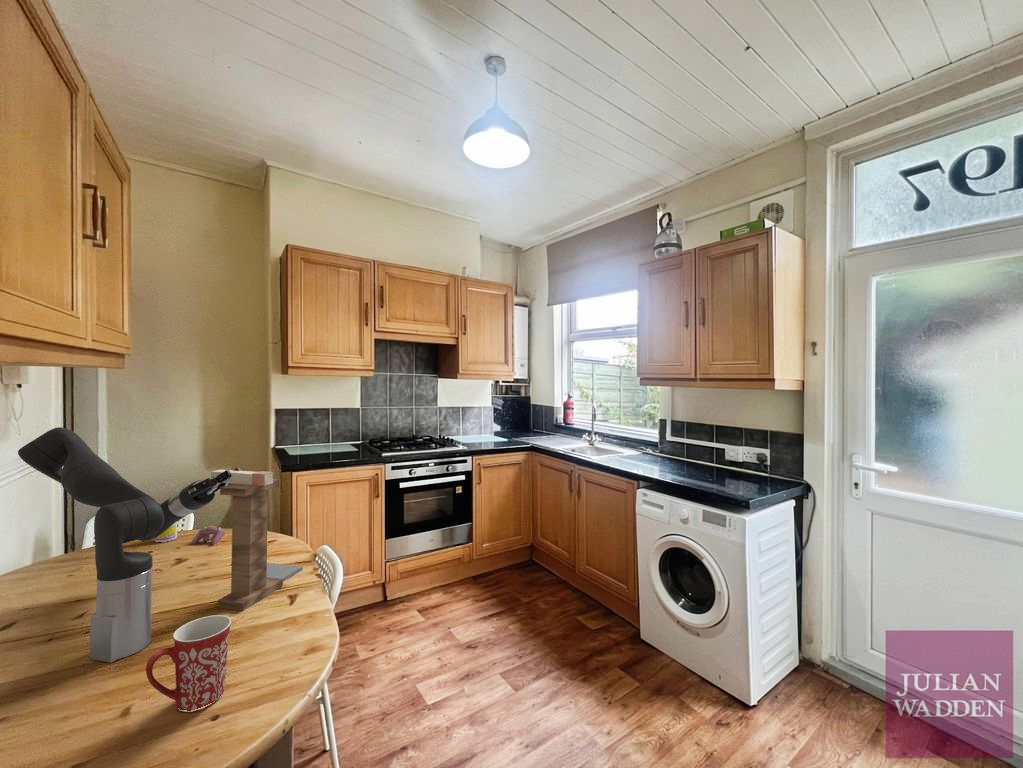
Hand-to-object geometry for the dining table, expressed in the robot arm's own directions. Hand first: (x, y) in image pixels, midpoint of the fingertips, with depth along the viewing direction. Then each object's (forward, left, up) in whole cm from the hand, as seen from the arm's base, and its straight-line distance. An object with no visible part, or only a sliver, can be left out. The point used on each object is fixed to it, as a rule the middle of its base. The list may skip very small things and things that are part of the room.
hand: (234, 471), depth 118 cm
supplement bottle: (+29, +60, -35) cm, 76 cm away
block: (0, -3, -3) cm, 4 cm away
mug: (-36, -28, -35) cm, 57 cm away
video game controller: (+31, +42, -35) cm, 63 cm away
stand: (0, -6, -35) cm, 35 cm away
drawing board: (+13, -1, -35) cm, 37 cm away
